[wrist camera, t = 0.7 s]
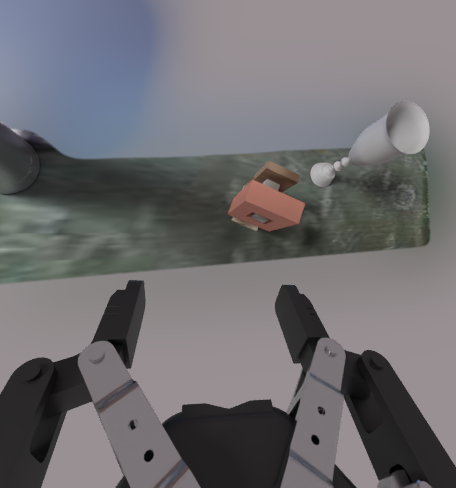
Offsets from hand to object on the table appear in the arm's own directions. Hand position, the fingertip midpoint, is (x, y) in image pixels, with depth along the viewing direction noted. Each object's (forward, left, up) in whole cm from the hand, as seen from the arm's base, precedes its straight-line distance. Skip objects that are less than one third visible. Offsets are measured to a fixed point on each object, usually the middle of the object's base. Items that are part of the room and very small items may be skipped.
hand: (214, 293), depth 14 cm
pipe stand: (+7, +14, -27) cm, 32 cm away
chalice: (+19, +27, -28) cm, 43 cm away
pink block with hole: (+7, +12, -24) cm, 28 cm away
